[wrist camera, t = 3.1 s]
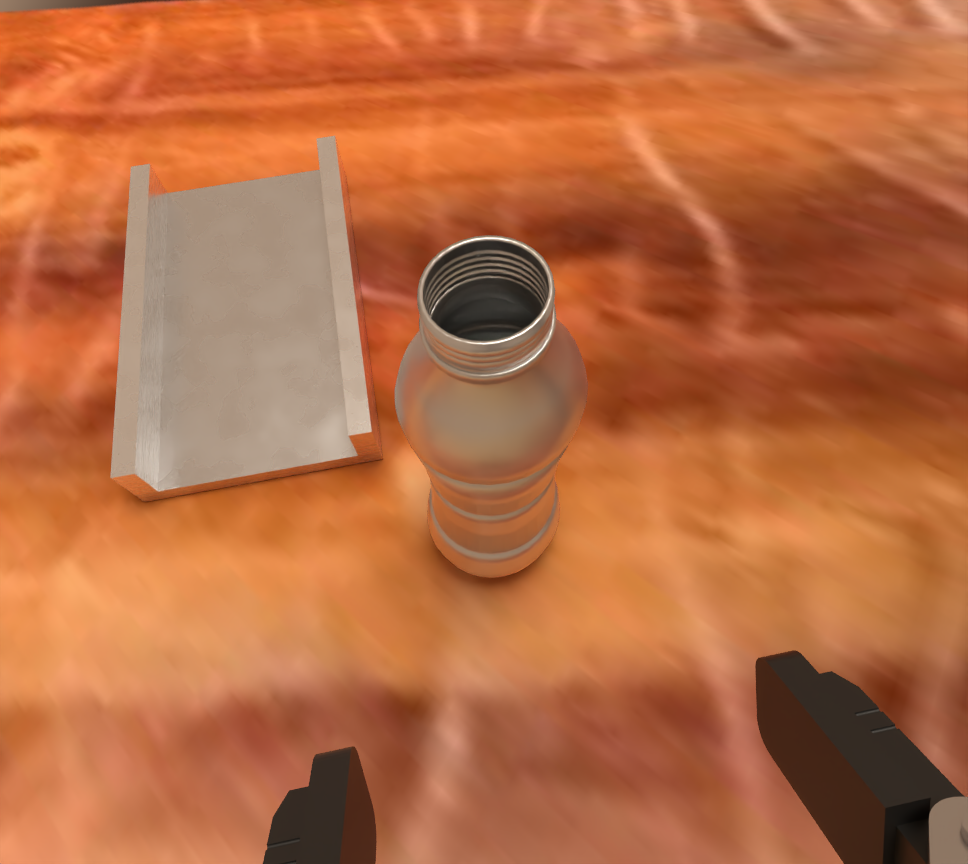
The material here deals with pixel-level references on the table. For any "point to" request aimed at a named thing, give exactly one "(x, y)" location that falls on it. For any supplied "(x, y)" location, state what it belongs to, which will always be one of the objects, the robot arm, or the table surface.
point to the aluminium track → (241, 334)
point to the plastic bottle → (490, 402)
